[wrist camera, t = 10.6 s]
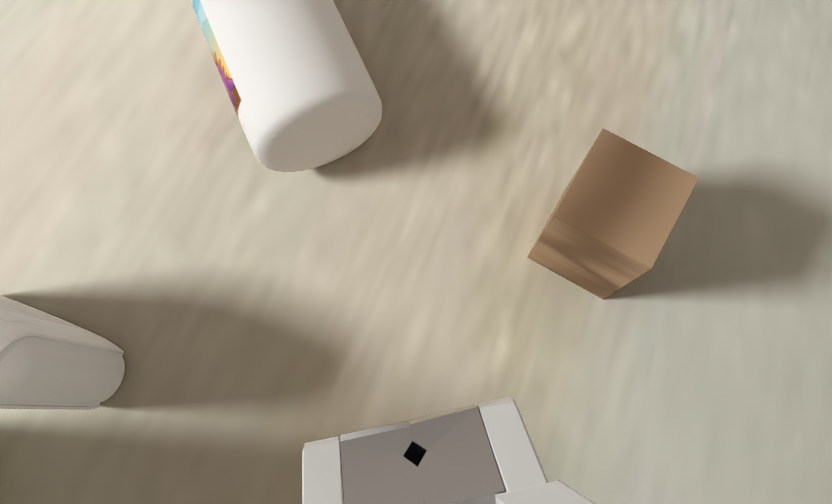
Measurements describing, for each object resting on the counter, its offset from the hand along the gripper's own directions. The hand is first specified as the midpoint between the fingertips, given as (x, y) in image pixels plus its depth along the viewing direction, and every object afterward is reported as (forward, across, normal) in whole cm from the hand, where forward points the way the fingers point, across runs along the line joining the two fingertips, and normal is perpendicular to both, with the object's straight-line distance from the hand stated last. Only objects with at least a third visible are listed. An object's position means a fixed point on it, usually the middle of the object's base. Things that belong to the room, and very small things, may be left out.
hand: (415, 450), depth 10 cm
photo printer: (+28, +20, +14) cm, 38 cm away
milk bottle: (+30, +2, +6) cm, 30 cm away
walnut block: (+27, -12, +14) cm, 33 cm away
